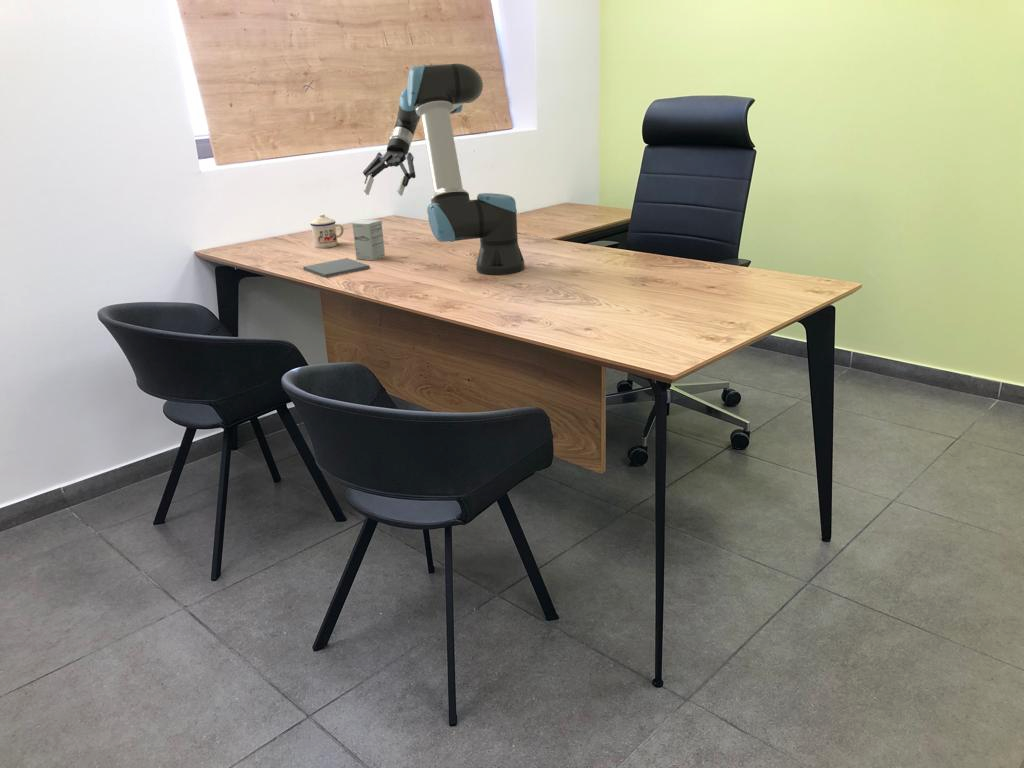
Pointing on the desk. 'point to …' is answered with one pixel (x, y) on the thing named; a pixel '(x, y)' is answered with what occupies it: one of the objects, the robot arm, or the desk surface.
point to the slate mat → (336, 267)
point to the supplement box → (368, 239)
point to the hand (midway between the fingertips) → (382, 193)
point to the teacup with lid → (325, 232)
